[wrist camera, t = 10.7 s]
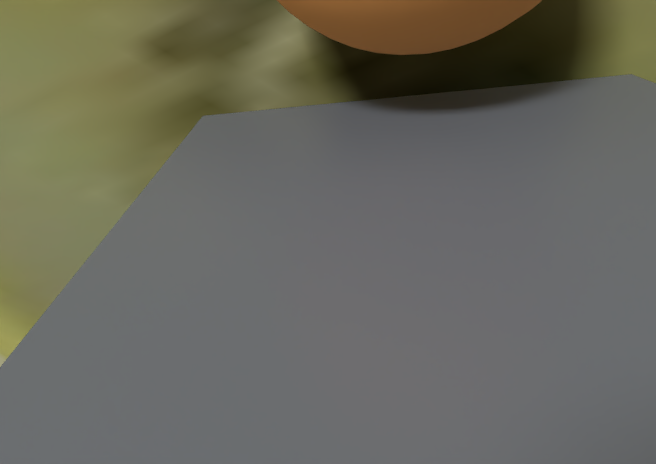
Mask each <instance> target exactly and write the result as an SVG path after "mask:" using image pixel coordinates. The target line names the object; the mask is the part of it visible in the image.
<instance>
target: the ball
mask: <svg viewBox="0 0 656 464" xmlns="http://www.w3.org/2000/svg"><path fill="white" fill-rule="evenodd" d="M277 1H278V2H279V3H280V4H281V5H282V6H283V7H284V8H286V9H287V10H288V11H289V12H290V13H291V14H292V15H294V16H295V17H296V18H298V19H299V20H301V21H302V22H303V23H305V24H306V25H307V26H309V27H310V28H312V29H314V30H315V31H317V32H319V33H321V34H323V35H325V36H326V37H328V38H330V39H332V40H335V41H337V42H340V43H342V44H345V45H348V46H350V47H353V48H357V49H361V50H366V51H370V52H374V53H383V54H394V55H412V54H429V53H434V52H439V51H444V50H449V49H454V48H457V47H460V46H463V45H466V44H469V43H472V42H475V41H477V40H479V39H482V38H484V37H486V36H488V35H490V34H492V33H494V32H496V31H498V30H500V29H502V28H504V27H505V26H507V25H508V24H510V23H511V22H513V21H515V20H516V19H518V18H519V17H521V16H522V15H524V14H525V13H527V12H528V11H530V10H531V9H532V8H534V7H535V6H536V5H537V4H539V3H540V2H541V1H542V0H277Z"/></svg>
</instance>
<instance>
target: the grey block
mask: <svg viewBox="0 0 656 464" xmlns="http://www.w3.org/2000/svg"><path fill="white" fill-rule="evenodd" d="M0 464H656V83H653V82H651V81H648V80H645V79H643V78H640V77H637V76H634V75H632V74H630V75H619V76H609V77H599V78H588V79H578V80H568V81H557V82H547V83H537V84H527V85H516V86H506V87H496V88H485V89H475V90H465V91H455V92H444V93H434V94H424V95H413V96H403V97H393V98H383V99H372V100H362V101H352V102H341V103H331V104H321V105H311V106H300V107H290V108H280V109H269V110H259V111H249V112H239V113H228V114H218V115H208V116H202V118H201V119H200V120H199V121H198V123H197V124H196V125H195V126H194V128H193V129H192V130H191V131H190V133H189V134H188V135H187V136H186V138H185V139H184V140H183V141H182V143H181V144H180V145H179V146H178V147H177V149H176V150H175V151H174V152H173V154H172V155H171V156H170V157H169V159H168V160H167V161H166V162H165V164H164V165H163V166H162V167H161V169H160V170H159V171H158V172H157V174H156V175H155V176H154V177H153V178H152V180H151V181H150V182H149V183H148V185H147V186H146V187H145V188H144V190H143V191H142V192H141V193H140V195H139V196H138V197H137V198H136V200H135V201H134V202H133V203H132V204H131V206H130V207H129V208H128V209H127V211H126V212H125V213H124V214H123V216H122V217H121V218H120V219H119V221H118V222H117V223H116V224H115V226H114V227H113V228H112V229H111V231H110V232H109V233H108V234H107V235H106V237H105V238H104V239H103V240H102V242H101V243H100V244H99V245H98V247H97V248H96V249H95V250H94V252H93V253H92V254H91V255H90V257H89V258H88V259H87V260H86V262H85V263H84V264H83V265H82V266H81V268H80V269H79V270H78V271H77V273H76V274H75V275H74V276H73V278H72V279H71V280H70V281H69V283H68V284H67V285H66V286H65V288H64V289H63V290H62V291H61V292H60V294H59V295H58V296H57V297H56V299H55V300H54V301H53V302H52V304H51V305H50V306H49V307H48V309H47V310H46V311H45V312H44V314H43V315H42V316H41V317H40V319H39V320H38V321H37V322H36V323H35V325H34V326H33V327H32V328H31V330H30V331H29V332H28V333H27V335H26V336H25V337H24V338H23V340H22V341H21V342H20V343H19V345H18V346H17V347H16V348H15V350H14V351H13V352H12V353H11V354H10V356H9V357H8V358H7V359H6V361H5V362H4V363H3V364H2V366H1V367H0Z"/></svg>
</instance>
